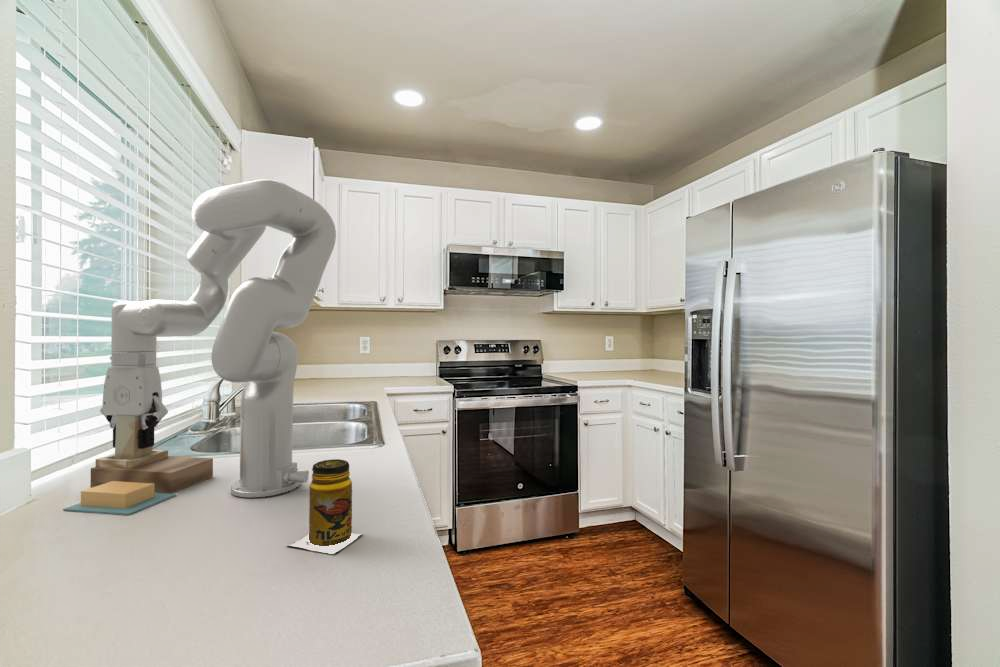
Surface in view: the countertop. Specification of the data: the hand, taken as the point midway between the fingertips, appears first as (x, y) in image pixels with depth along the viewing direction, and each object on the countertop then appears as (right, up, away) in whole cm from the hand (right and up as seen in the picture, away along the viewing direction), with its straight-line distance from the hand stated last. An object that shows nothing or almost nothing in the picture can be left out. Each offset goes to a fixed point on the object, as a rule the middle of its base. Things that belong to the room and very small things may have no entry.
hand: (133, 445), depth 100 cm
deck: (+5, -7, -1) cm, 9 cm away
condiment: (+50, -8, -28) cm, 58 cm away
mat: (+8, -7, -13) cm, 17 cm away
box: (0, -4, 0) cm, 4 cm away
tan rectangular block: (+7, -5, -13) cm, 15 cm away
